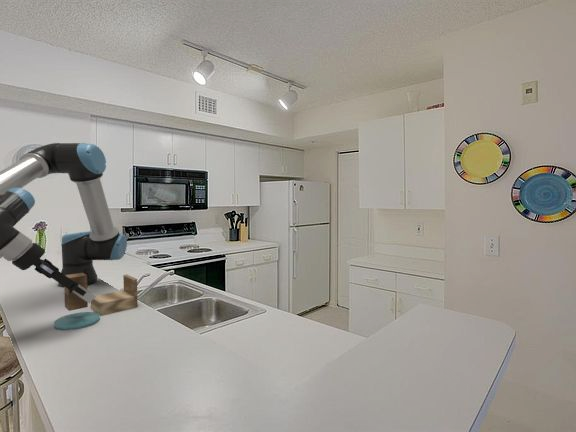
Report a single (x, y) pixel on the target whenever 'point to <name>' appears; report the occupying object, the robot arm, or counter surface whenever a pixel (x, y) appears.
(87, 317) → the teal flattened ellipsoid
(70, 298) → the block
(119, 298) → the ledge
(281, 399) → the counter surface
